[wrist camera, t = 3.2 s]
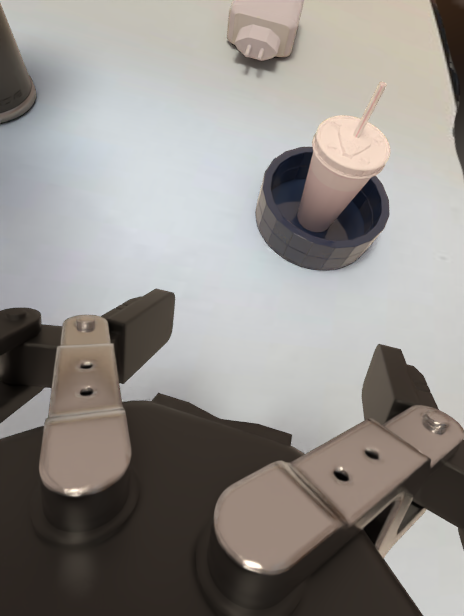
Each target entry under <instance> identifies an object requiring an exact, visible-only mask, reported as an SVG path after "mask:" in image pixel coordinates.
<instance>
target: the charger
mask: <svg viewBox="0 0 464 616" xmlns="http://www.w3.org/2000/svg"><path fill="white" fill-rule="evenodd" d="M303 3H304V0H233V2H232V5H231V7H230V10H229V18H228V29H227V39H228V40H229V41H230V42H231V43H232V44H234V45H236V47H237V49H238V50H239V51H240V52H242V53H243V54H244V55H245V57H250V58H254V59H258V60H262V61H263V60H267V59H271V58H273V57H275V56H277V57H287V56H289V55H290V54H291V51H292V48H293V44H294V40H295V36H296V32H297V28H298V24H299V20H300V15H301V11H302V7H303Z"/></svg>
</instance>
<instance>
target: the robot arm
mask: <svg viewBox="0 0 464 616" xmlns="http://www.w3.org/2000/svg"><path fill="white" fill-rule="evenodd" d="M35 99H36V89H35V87H34V84H33V82H32V79H31V77H30V76H29V74H28V72H27V69H26V67H25V64H24V62H23V59H22V57H21V54H20V51H19V49H18V46H17V44H16V41H15V39H14V36H13V34H12V31H11V29H10V26H9V24H8V21H7V19H6V16H5V14H4V11H3V9H2V6H1V4H0V123H3V122H6V121H10V120H12V119H15V118H17V117H19V116H21V115H22V114H24V113H25V112H27V111H28V110H29V109H30V108H31V106H32V105H33V104H34V102H35ZM174 306H175V295H174V293H172V292H168V291H164V290H160V289H154V290H153V291H151V292H149V293H148V294H146V295H144V296H143V297H138V298H133V299H130V300H128V301H126V302H125V303H123V304H122V305H119V306H118V307H116V309H115V308H114V309H113V310H111V311H109V312H107V313H106V314H104V315H102V316H96V315H78V316H73V317H70V318H68V319H66V320H65V321H64V322H63V326H53V325H42V324H41V314H40V312H39V311H37V310H35V309H31V308H10V309H5V310H1V311H0V423H1V422H3V421H4V420H5V419H6V418H8V417H9V416H10V415H11V414H13V413H14V412H15V411H16V410H18V409H19V408H20V407H22V406H23V405H24V404H25V403H27V402H28V401H29V400H30V399H32V398H33V397H34V396H35V395H37V394H38V393H39V392H41V391H42V390H43V389H44V387H47V388H52V390H51V398H50V406H49V413H48V418H46V420H45V425H44V426H41V427H38V428H35V429H31V430H28V431H25V432H22V433H18V434H15V435H12V436H8V437H5V438H2V439H0V616H423V615H422V613H421V612H420V610H419V609H418V607H417V606H416V605H415V603H414V602H413V600H412V599H411V597H410V596H409V594H408V593H407V592H406V590H405V589H404V587H403V586H402V584H401V583H400V582H399V580H398V579H397V577H396V576H395V574H394V573H393V572H392V570H391V569H390V567H389V566H388V564H387V563H386V561H385V560H384V557H385V556H386V554H387V553H388V551H389V550H390V549H391V548H392V546H393V545H394V544H395V543H396V542H397V541H398V540H399V539H400V538H401V537H402V536H403V535H404V534H405V533H406V532H407V531H408V530H409V529H410V527H411V526H412V525H413V524H414V523H415V522H416V521H417V520H418V519H419V518H420V517H421V516H422V515H423V514H424V513H425V511H426V510H429V511H431V512H432V513H434V514H436V515H438V516H439V517H441V518H443V519H445V520H446V521H448V522H450V523H452V524H453V525H455V526H457V527H458V532H459V535H460V539H461V542H462V546H463V549H464V440H463V439H464V430H463V428H462V427H461V425H460V424H459V423H458V422H457V421H456V420H454V419H453V418H452V417H450V416H449V415H447V414H446V413H444V412H442V411H440V410H439V409H438V407H437V405H436V403H435V400H434V398H433V396H432V394H431V393H430V389H429V387H428V386H427V383H426V381H425V378H424V376H423V375H422V374H421V373H420V372H419V371H418V370H417V369H416V368H415V367H414V366H411V365H407V364H406V361H405V359H404V356H403V354H402V351H401V349H398V348H393V347H389V346H385V345H381V344H378V345H377V347H376V349H375V352H374V354H373V357H372V360H371V363H370V366H369V369H368V372H367V374H366V377H365V380H364V384H363V388H362V403H363V411H364V420H365V421H363V422H361V423H360V424H358V425H356V426H354V427H352V428H351V429H349V430H347V431H345V432H344V433H342V434H340V435H338V436H337V437H335V438H333V439H331V440H330V441H328V442H326V443H324V444H322V445H321V446H319V447H317V448H315V449H314V450H312V451H310V452H308V453H307V454H304V453H302V452H301V451H299V450H298V449H296V448H294V447H292V446H291V439H292V434H288V433H285V432H282V431H279V430H275V429H272V428H269V427H266V426H263V425H259V424H255V423H247V422H239V421H231V420H224V419H219V418H217V417H215V416H213V415H211V414H209V413H208V412H206V411H204V410H202V409H200V408H198V407H197V406H195V405H193V404H191V403H189V402H186V401H183V400H179V399H176V398H173V397H170V396H167V395H163V394H160V393H158V394H157V395H156V396H155V398H154V399H153V400H152V401H128V402H122V399H121V392H120V385H119V383H122V384H124V383H125V382H126V381H127V380H128V379H129V378H130V377H131V376H132V375H133V374H134V373H135V372H136V371H137V370H139V369H140V368H141V367H142V366H143V365H144V364H145V363H146V362H147V361H148V360H149V359H150V358H151V357H152V356H153V355H154V354H155V353H156V352H157V351H158V350H159V349H160V348H161V347H163V346H164V345H165V344H166V343H167V342H168V340H169V338H170V336H171V333H172V328H173V317H174Z"/></svg>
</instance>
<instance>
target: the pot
mask: <svg viewBox="0 0 464 616" xmlns="http://www.w3.org/2000/svg"><path fill="white" fill-rule="evenodd" d="M312 155H313V147H300V148H296V149H293V150H289V151H286V152H284V153H283V154H281V155H280V156H278V157H277V158H275V159H274V160H273V161H272V162H271V164H270V165H269V167H268V168H267V170H266V171H265V174H264V177H263V181H262V185H261V189H260V192H259V196H258V200H257V206H256V212H255V213H256V222H257V225H258V228H259V231H260V233H261V235H262V237H263V238H264V240H265V241H266V242H267V244H268V245H269V246H270V247H271V248H272V249H273V250H274V251H275V252H276V253H277V254H279V255H280V256H281V257H283V258H284V259H286V260H288V261H290V262H292V263H294V264H296V265H299V266H301V267H305V268H309V269H314V270H334V269H338V268H342V267H345V266H347V265H349V264H351V263H353V262H354V261H356V260H357V259H358V258H359V257H360V256H361V255H362V254H363V253H364V252H365V251H366V250H367V249H368V248H369V246H370V245H371V244H372V243H373V242H374V240H375V239H376V238H377V237H378V236H379V234H380V233H381V232H382V231H383V229H384V228H385V225H386V222H387V220H388V217H389V199H388V196H387V194H386V192H385V189H384V187H383V185H382V183H381V182H380V181H379V179H378V178H377V177H376V176H373V177H371V178H370V179H369V181H368V182H367V183H366V184H365V185H364V186H363V188H362V189H361V190H360V191H359V192H358V193H357V195H356V196H355V197H354V198H353V199H352V201H351V202H350V203H349V204H348V205H347V206H346V208H345V209H344V210H343V211H342V212H341V214H340V215H339V216H338V217H337V218H336V219H335V221H334V222H333V223H332V224H331V225H330V227H329V228H328V229H327V230H325V231H323V232H312V231H309V230H307V229H305V228H304V227H303V226H302V225H301V224H300V223H299V221H298V217H297V214H298V210H299V206H300V202H301V198H302V194H303V190H304V186H305V182H306V178H307V175H308V171H309V167H310V163H311V158H312Z"/></svg>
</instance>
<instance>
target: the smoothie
mask: <svg viewBox="0 0 464 616" xmlns="http://www.w3.org/2000/svg"><path fill="white" fill-rule="evenodd" d="M386 86H387V85H386V83H384V82H379V84H378V86H377V88H376V90H375V92H374V94H373V96H372V98H371V100H370V102H369V104H368V106H367V108H366V110H365V112H364V114H363V116H362V118H361V119H360V118H357V117H352V116H343V115H342V116H334V117H330V118H328V119H326V120H324V121H323V122H322V123H321V124H320V125H319V127H318V129H317V132H316V134H315V135H314V137H313V141H312V146H313V155H312V158H311V163H310V167H309V171H308V175H307V178H306V182H305V186H304V190H303V194H302V198H301V202H300V206H299V210H298V214H297V217H298V221H299V223H300V224H301V225H302V226H303V227H304V228H305V229H307V230H309V231H312V232H323V231H325V230H327V229H328V228H329V227H330V225H331V224H332V223H333V222H334V221H335V219H336V218H337V217H338V216H339V215H340V214H341V212H342V211H343V210H344V209H345V208H346V206H347V205H348V204H349V203H350V202H351V201H352V199H353V198H354V197H355V196H356V195H357V193H358V192H359V191H360V190H361V189H362V188H363V186H364V185H365V184H366V183H367V182H368V181H369V179H370V178H371V177H373V176H376V175H377V174H378V173H380V172H381V171H382V169H383V168H384V166H385V164H386V162H387V161H388V159H389V157H390V145H389V143H388V140H387V139H386V137H385V135H384V134H383V133H382V132H381V131H380V130H379V129H378V128H377V127H375V126H374V125H372V124H371V123H369V122H368V120H369V118H370V116H371V114H372V112H373V110H374V108H375V107H376V105H377V103H378V101H379V99H380V97H381V95H382V93H383V91H384V90H385V88H386Z"/></svg>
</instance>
